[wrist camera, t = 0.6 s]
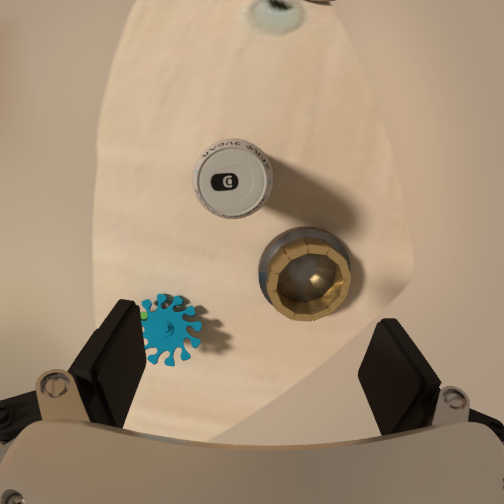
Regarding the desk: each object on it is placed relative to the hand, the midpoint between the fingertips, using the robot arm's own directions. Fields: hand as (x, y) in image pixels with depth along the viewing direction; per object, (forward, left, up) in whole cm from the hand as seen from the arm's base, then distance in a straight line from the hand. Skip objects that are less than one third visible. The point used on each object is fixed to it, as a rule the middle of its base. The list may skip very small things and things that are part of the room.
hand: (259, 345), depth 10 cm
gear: (+16, -10, -26) cm, 33 cm away
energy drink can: (-5, -2, -26) cm, 27 cm away
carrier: (+7, +8, -26) cm, 28 cm away
